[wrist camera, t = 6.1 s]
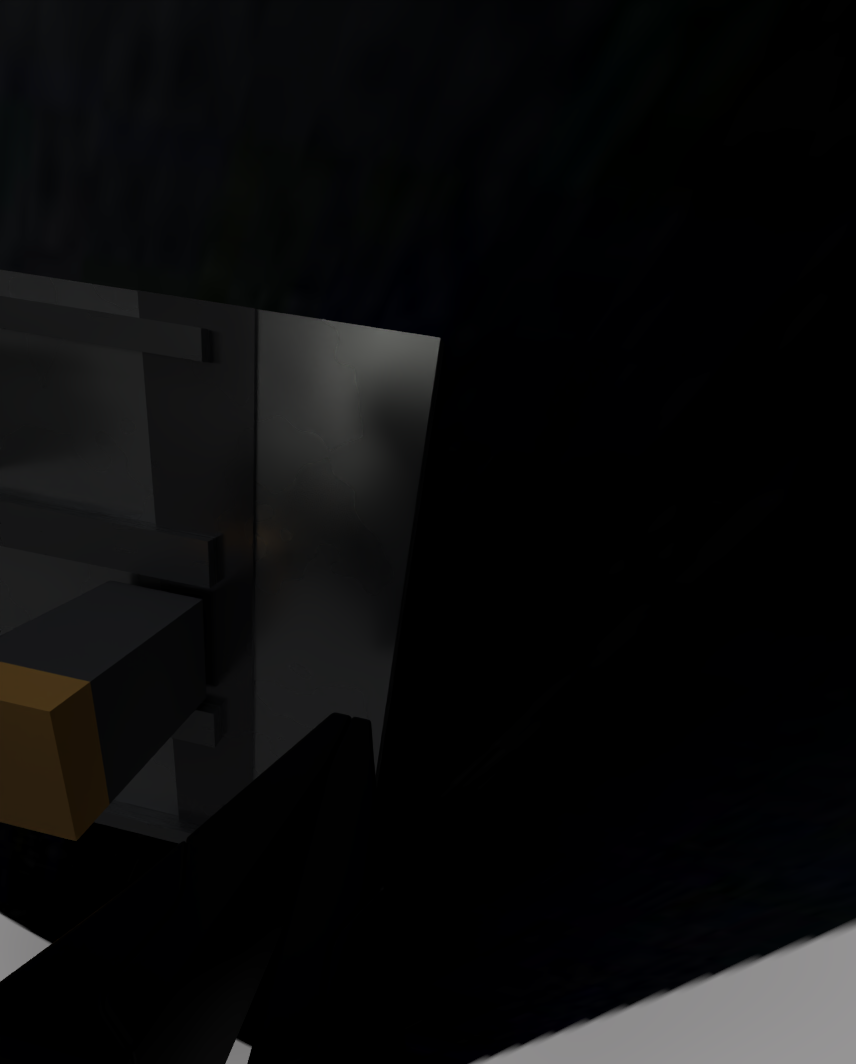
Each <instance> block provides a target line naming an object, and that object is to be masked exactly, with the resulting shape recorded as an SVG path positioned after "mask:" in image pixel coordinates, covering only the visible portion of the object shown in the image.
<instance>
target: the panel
mask: <svg viewBox="0 0 856 1064" xmlns="http://www.w3.org/2000/svg"><path fill="white" fill-rule="evenodd" d="M444 346H445V344H444V342H443V341H442V339H441V338H438V337H432V336H425V335H419V334H412V333H406V332H399V331H393V330H387V329H380V328H374V327H367V326H361V325H354V324H348V323H341V322H335V321H328V320H322V319H315V318H309V317H302V316H296V315H289V314H283V313H276V312H270V311H264V310H257V309H255V308H248V307H242V306H235V305H229V304H222V303H216V302H209V301H203V300H196V299H190V298H183V297H177V296H170V295H164V294H157V293H151V292H144V291H138V290H137V291H134V290H128V289H121V288H115V287H108V286H102V285H95V284H89V283H82V282H76V281H69V280H63V279H56V278H50V277H43V276H37V275H30V274H24V273H18V272H11V271H5V270H0V635H2V634H4V633H6V632H8V631H10V630H12V629H14V628H16V627H18V626H20V625H22V624H24V623H26V622H28V621H30V620H32V619H34V618H36V617H38V616H40V615H42V614H44V613H46V612H48V611H50V610H52V609H54V608H56V607H58V606H60V605H62V604H64V603H66V602H68V601H70V600H72V599H74V598H76V597H78V596H80V595H82V594H84V593H86V592H88V591H90V590H92V589H94V588H96V587H98V586H100V585H102V584H104V583H106V582H108V581H110V580H112V581H116V582H121V583H126V584H131V585H136V586H141V587H146V588H150V589H155V590H160V591H165V592H170V593H175V594H180V595H184V596H189V597H194V598H199V599H203V623H204V648H205V673H206V699H205V700H204V701H203V702H202V703H201V704H200V705H199V706H198V707H197V709H196V710H195V711H194V712H193V713H192V714H191V715H190V716H189V717H188V718H187V720H186V721H185V722H184V723H183V724H182V725H181V726H180V727H179V728H178V729H177V731H176V732H175V733H174V734H173V735H172V736H171V737H170V738H169V739H168V741H167V742H166V743H165V744H164V745H163V746H162V747H161V748H160V749H159V750H158V752H157V753H156V754H155V755H154V756H153V757H152V758H151V759H150V760H149V761H148V763H147V764H146V765H145V766H144V767H143V768H142V769H141V770H140V771H139V773H138V774H137V775H136V776H135V777H134V778H133V779H132V780H131V781H130V782H129V784H128V785H127V786H126V787H125V788H124V789H123V790H122V791H121V792H120V793H119V795H118V796H117V797H116V798H115V799H114V800H113V801H112V802H111V803H110V805H109V806H108V807H107V808H106V809H105V810H104V811H103V812H102V813H101V814H100V816H99V817H98V818H97V819H96V820H95V821H94V822H95V823H99V824H103V825H107V826H111V827H115V828H119V829H123V830H127V831H131V832H135V833H139V834H143V835H147V836H151V837H156V838H160V839H164V840H168V841H172V842H176V843H181V842H182V841H185V842H186V839H187V837H188V836H189V835H190V834H192V833H193V832H194V831H195V830H196V829H197V828H199V827H200V826H201V825H202V824H203V823H204V822H206V821H207V820H208V819H209V818H210V817H211V816H213V815H214V814H215V813H216V812H217V811H218V810H220V809H221V808H222V807H223V806H224V805H225V804H227V803H228V802H229V801H230V800H231V799H232V798H234V797H235V796H236V795H237V794H238V793H239V792H241V791H242V790H243V789H244V788H245V787H246V786H248V785H249V784H250V783H251V782H252V781H253V780H255V779H256V778H257V777H258V776H259V775H260V774H261V773H263V772H264V771H265V770H266V769H267V768H268V767H270V766H271V765H272V764H273V763H274V762H275V761H277V760H278V759H279V758H280V757H281V756H282V755H284V754H285V753H286V752H287V751H288V750H289V749H291V748H292V747H293V746H294V745H295V744H296V743H298V742H299V741H300V740H301V739H302V738H303V737H305V736H306V735H307V734H308V733H309V732H310V731H312V730H313V729H314V728H315V727H316V726H317V725H319V724H320V723H321V722H322V721H323V720H324V719H326V718H327V717H328V716H329V715H330V714H332V713H334V712H337V713H341V714H346V715H350V716H351V718H353V717H360V718H364V719H368V720H370V721H371V725H372V738H373V751H374V764H375V777H376V790H377V786H378V779H379V773H380V766H381V760H382V753H383V747H384V740H385V733H386V727H387V720H388V714H389V707H390V701H391V694H392V687H393V681H394V674H395V668H396V661H397V655H398V648H399V641H400V635H401V628H402V622H403V615H404V609H405V602H406V595H407V589H408V582H409V576H410V569H411V563H412V556H413V550H414V543H415V536H416V530H417V523H418V517H419V510H420V504H421V497H422V490H423V484H424V477H425V471H426V464H427V458H428V451H429V444H430V438H431V431H432V425H433V418H434V412H435V405H436V398H437V392H438V385H439V379H440V372H441V366H442V359H443V352H444Z"/></svg>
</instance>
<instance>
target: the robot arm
mask: <svg viewBox="0 0 856 1064" xmlns="http://www.w3.org/2000/svg"><path fill="white" fill-rule="evenodd" d="M822 513H824V514H825V515H824V520H823V522H822V523H821V524H820V525H819V526H818V527H816V528H814V529H811V526H812V521H813V520H814V519H815V518H816V517H817V516H818V515H820V514H822ZM784 526H785V530H786V532H787V533H788V534H789V535H790V536H791V537H793V538H795V539H797V540H799V541H801V542H804V543H806V544H808V545H811V546H814V547H819V548H824V549H830V550H835V551H841V552H847V553H852V554H856V364H855V366H854V368H853V370H852V372H851V375H850V377H849V379H848V381H847V383H846V385H845V387H844V389H843V392H842V394H841V396H840V398H839V400H838V402H837V404H836V406H835V408H834V411H833V413H832V415H831V417H830V419H829V421H828V423H827V425H826V428H825V430H824V432H823V434H822V439H821V441H820V443H819V445H818V448H817V450H816V452H815V454H814V456H813V458H812V460H811V462H810V464H809V467H808V469H807V471H806V473H805V475H804V477H803V479H802V481H801V483H800V486H799V488H798V490H797V492H796V494H795V496H794V498H793V500H792V502H791V505H790V507H789V509H788V511H787V513H786V516H785V520H784ZM383 889H384V882H383V869H382V855H381V842H380V829H379V816H378V803H377V790H376V777H375V764H374V751H373V738H372V725H371V721H370V720H368V719H364V718H360V717H353V718H351V716H350V715H346V714H341V713H337V712H334V713H332V714H330V715H329V716H328V717H327V718H326V719H324V720H323V721H322V722H321V723H320V724H319V725H317V726H316V727H315V728H314V729H313V730H312V731H310V732H309V733H308V734H307V735H306V736H305V737H303V738H302V739H301V740H300V741H299V742H298V743H296V744H295V745H294V746H293V747H292V748H291V749H289V750H288V751H287V752H286V753H285V754H284V755H282V756H281V757H280V758H279V759H278V760H277V761H275V762H274V763H273V764H272V765H271V766H270V767H268V768H267V769H266V770H265V771H264V772H263V773H261V774H260V775H259V776H258V777H257V778H256V779H255V780H253V781H252V782H251V783H250V784H249V785H248V786H246V787H245V788H244V789H243V790H242V791H241V792H239V793H238V794H237V795H236V796H235V797H234V798H232V799H231V800H230V801H229V802H228V803H227V804H225V805H224V806H223V807H222V808H221V809H220V810H218V811H217V812H216V813H215V814H214V815H213V816H211V817H210V818H209V819H208V820H207V821H206V822H204V823H203V824H202V825H201V826H200V827H199V828H197V829H196V830H195V831H194V832H193V833H192V834H190V835H189V836H188V837H187V839H186V842H185V841H182V842H181V843H180V844H178V845H177V846H176V847H175V848H174V849H173V850H171V851H170V852H169V853H168V854H167V855H166V856H165V857H163V858H162V859H161V860H160V861H159V862H157V863H156V864H155V865H154V866H153V867H151V868H150V869H149V870H148V871H146V872H145V873H144V874H143V875H142V876H140V877H139V878H138V879H137V880H136V881H134V882H133V883H132V884H131V885H129V886H128V887H127V888H126V889H124V890H123V891H122V892H120V893H119V894H118V895H117V896H115V897H114V898H113V899H111V900H110V901H109V902H107V903H106V904H105V905H103V906H102V907H101V908H99V909H98V910H97V911H95V912H94V913H93V914H91V915H90V916H89V917H88V918H86V919H85V920H84V921H82V922H81V923H80V924H78V925H77V926H75V927H74V928H73V929H71V930H70V931H69V932H67V933H66V934H65V935H63V936H62V937H60V938H59V939H58V940H56V941H55V942H54V943H52V944H51V945H50V946H49V947H47V948H45V949H44V950H43V951H41V952H40V953H39V954H37V955H36V956H35V957H33V958H32V959H30V960H29V961H28V962H27V963H25V964H24V965H22V966H21V967H20V968H18V969H17V970H16V971H14V972H13V973H11V974H10V975H9V976H7V977H6V978H5V979H3V980H2V981H1V982H0V1064H225V1063H226V1061H227V1058H228V1056H229V1053H230V1051H231V1049H232V1047H233V1044H234V1042H235V1040H236V1037H237V1035H238V1032H239V1030H240V1028H241V1025H242V1023H243V1021H244V1018H245V1016H246V1014H247V1011H248V1009H249V1006H250V1004H251V1002H252V999H253V997H254V995H255V992H256V990H257V988H258V985H259V983H260V981H261V978H262V976H263V973H264V971H265V969H266V966H267V964H268V962H269V959H270V957H271V955H272V952H273V950H274V947H275V945H276V943H277V940H278V938H279V936H280V933H281V931H282V929H283V926H284V924H285V921H286V919H287V921H286V925H285V929H284V932H283V936H282V940H281V943H280V947H279V951H278V954H277V958H276V961H275V965H274V969H273V972H272V976H271V980H270V983H269V987H268V991H267V994H266V998H265V1001H264V1005H263V1009H262V1012H261V1016H260V1020H259V1023H258V1027H257V1031H256V1034H255V1038H254V1041H253V1045H252V1049H251V1053H250V1056H249V1060H248V1064H409V1062H408V1056H407V1051H406V1045H405V1040H404V1035H403V1029H402V1024H401V1018H400V1013H399V1008H398V1001H397V995H396V989H395V983H394V976H393V970H392V964H391V957H390V947H389V938H388V928H387V918H386V905H385V893H384V891H383ZM287 917H288V918H287Z"/></svg>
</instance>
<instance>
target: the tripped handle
mask: <svg viewBox="0 0 856 1064" xmlns="http://www.w3.org/2000/svg"><path fill="white" fill-rule="evenodd" d="M205 699H206V673H205V648H204V623H203V599H199V598H194V597H189V596H184V595H180V594H175V593H170V592H165V591H160V590H155V589H150V588H146V587H141V586H136V585H131V584H126V583H121V582H116V581H112V580H110V581H108V582H106V583H104V584H102V585H100V586H98V587H96V588H94V589H92V590H90V591H88V592H86V593H84V594H82V595H80V596H78V597H76V598H74V599H72V600H70V601H68V602H66V603H64V604H62V605H60V606H58V607H56V608H54V609H52V610H50V611H48V612H46V613H44V614H42V615H40V616H38V617H36V618H34V619H32V620H30V621H28V622H26V623H24V624H22V625H20V626H18V627H16V628H14V629H12V630H10V631H8V632H6V633H4V634H2V635H0V822H3V823H7V824H10V825H14V826H18V827H22V828H26V829H30V830H34V831H38V832H42V833H46V834H50V835H54V836H58V837H62V838H66V839H70V840H74V841H77V840H78V839H79V838H80V837H81V835H82V834H83V833H84V832H85V831H86V830H87V829H88V828H89V827H90V825H91V824H92V823H93V822H94V821H95V820H96V819H97V818H98V817H99V816H100V814H101V813H102V812H103V811H104V810H105V809H106V808H107V807H108V806H109V805H110V803H111V802H112V801H113V800H114V799H115V798H116V797H117V796H118V795H119V793H120V792H121V791H122V790H123V789H124V788H125V787H126V786H127V785H128V784H129V782H130V781H131V780H132V779H133V778H134V777H135V776H136V775H137V774H138V773H139V771H140V770H141V769H142V768H143V767H144V766H145V765H146V764H147V763H148V761H149V760H150V759H151V758H152V757H153V756H154V755H155V754H156V753H157V752H158V750H159V749H160V748H161V747H162V746H163V745H164V744H165V743H166V742H167V741H168V739H169V738H170V737H171V736H172V735H173V734H174V733H175V732H176V731H177V729H178V728H179V727H180V726H181V725H182V724H183V723H184V722H185V721H186V720H187V718H188V717H189V716H190V715H191V714H192V713H193V712H194V711H195V710H196V709H197V707H198V706H199V705H200V704H201V703H202V702H203V701H204V700H205Z"/></svg>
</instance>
